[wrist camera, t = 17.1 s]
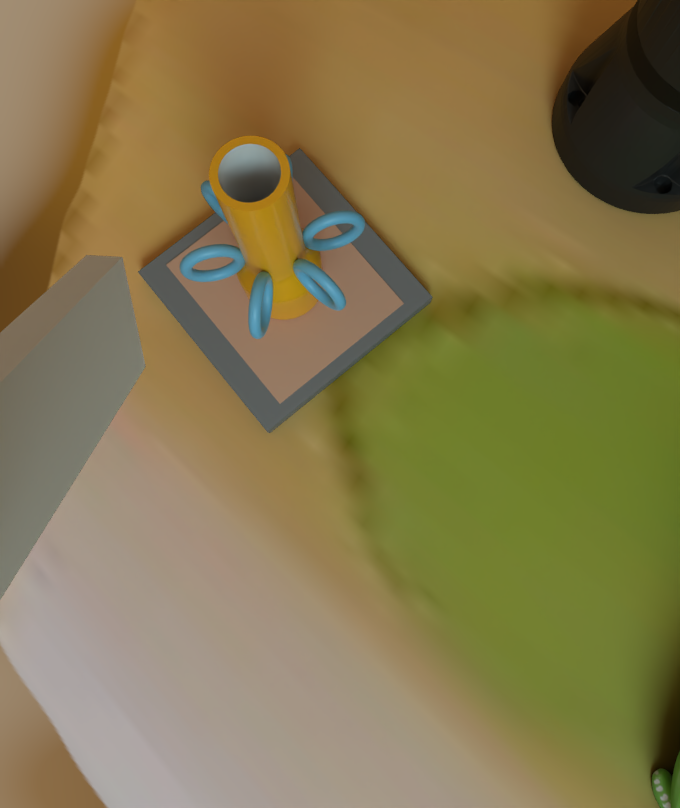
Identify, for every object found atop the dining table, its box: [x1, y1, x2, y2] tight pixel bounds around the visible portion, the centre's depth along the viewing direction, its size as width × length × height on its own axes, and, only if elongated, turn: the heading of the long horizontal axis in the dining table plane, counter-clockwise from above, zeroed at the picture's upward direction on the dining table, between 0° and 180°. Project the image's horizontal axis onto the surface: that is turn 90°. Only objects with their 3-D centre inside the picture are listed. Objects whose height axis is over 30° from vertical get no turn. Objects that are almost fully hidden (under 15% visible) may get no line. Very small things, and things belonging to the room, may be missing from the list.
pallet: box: [138, 148, 432, 433], centre depth 43 cm, size 16×16×1 cm
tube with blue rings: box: [180, 136, 365, 339], centre depth 35 cm, size 12×10×15 cm
